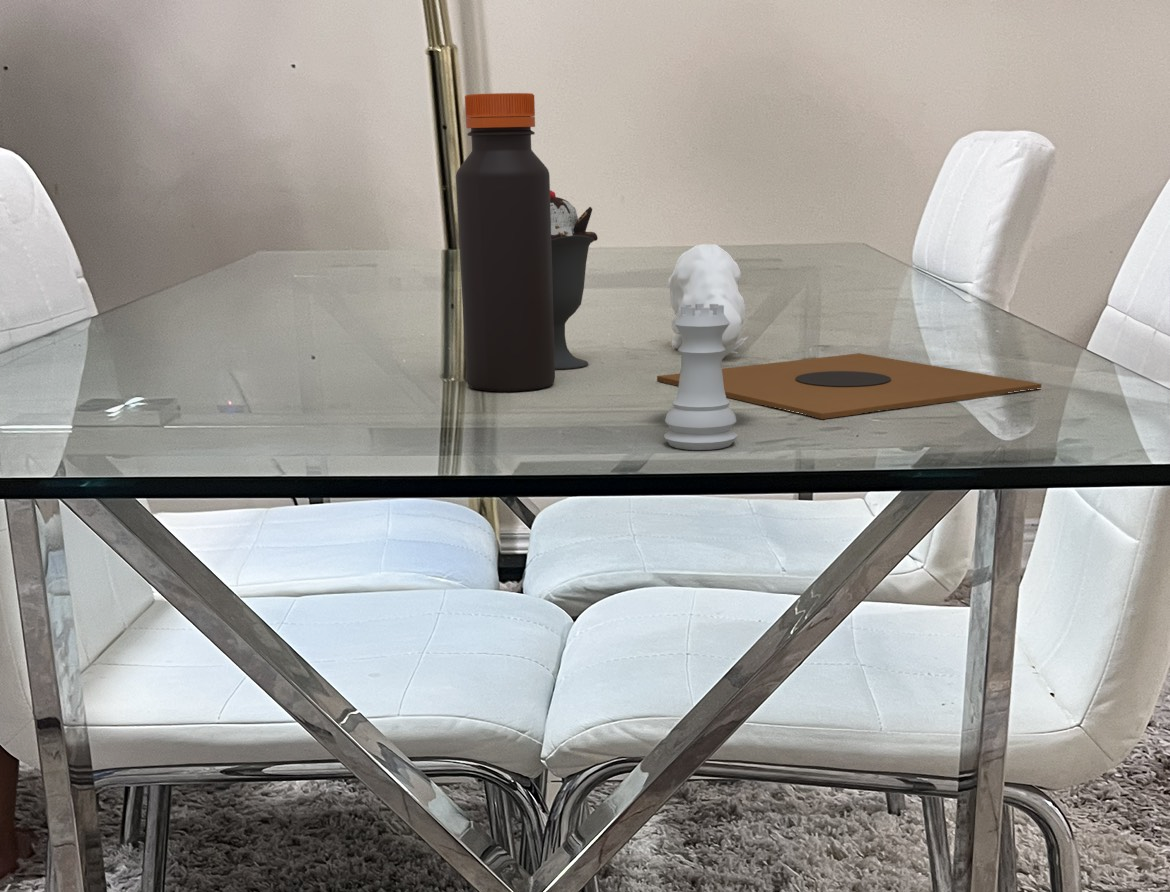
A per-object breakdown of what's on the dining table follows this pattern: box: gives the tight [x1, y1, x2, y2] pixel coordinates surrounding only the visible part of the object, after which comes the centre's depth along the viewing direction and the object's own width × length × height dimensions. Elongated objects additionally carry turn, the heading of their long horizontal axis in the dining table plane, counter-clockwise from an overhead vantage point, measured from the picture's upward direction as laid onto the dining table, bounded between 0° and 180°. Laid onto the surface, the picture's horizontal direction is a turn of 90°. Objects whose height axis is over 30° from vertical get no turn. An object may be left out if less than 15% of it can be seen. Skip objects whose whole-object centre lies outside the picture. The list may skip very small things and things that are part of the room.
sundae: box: [550, 189, 599, 371], centre depth 113 cm, size 7×7×15 cm
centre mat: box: [656, 352, 1042, 420], centre depth 104 cm, size 20×20×1 cm
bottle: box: [455, 92, 556, 393], centre depth 103 cm, size 7×7×20 cm
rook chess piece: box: [663, 304, 738, 451], centre depth 84 cm, size 4×4×8 cm
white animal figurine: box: [667, 243, 748, 360], centre depth 119 cm, size 6×8×12 cm
